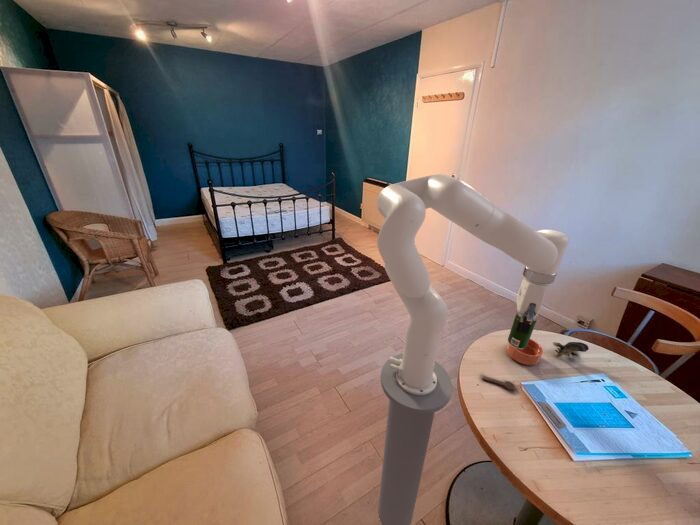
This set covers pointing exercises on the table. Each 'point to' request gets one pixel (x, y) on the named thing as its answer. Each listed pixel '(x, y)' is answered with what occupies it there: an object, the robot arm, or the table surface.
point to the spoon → (501, 383)
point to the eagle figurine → (570, 348)
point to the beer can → (518, 338)
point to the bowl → (526, 353)
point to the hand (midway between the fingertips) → (521, 325)
